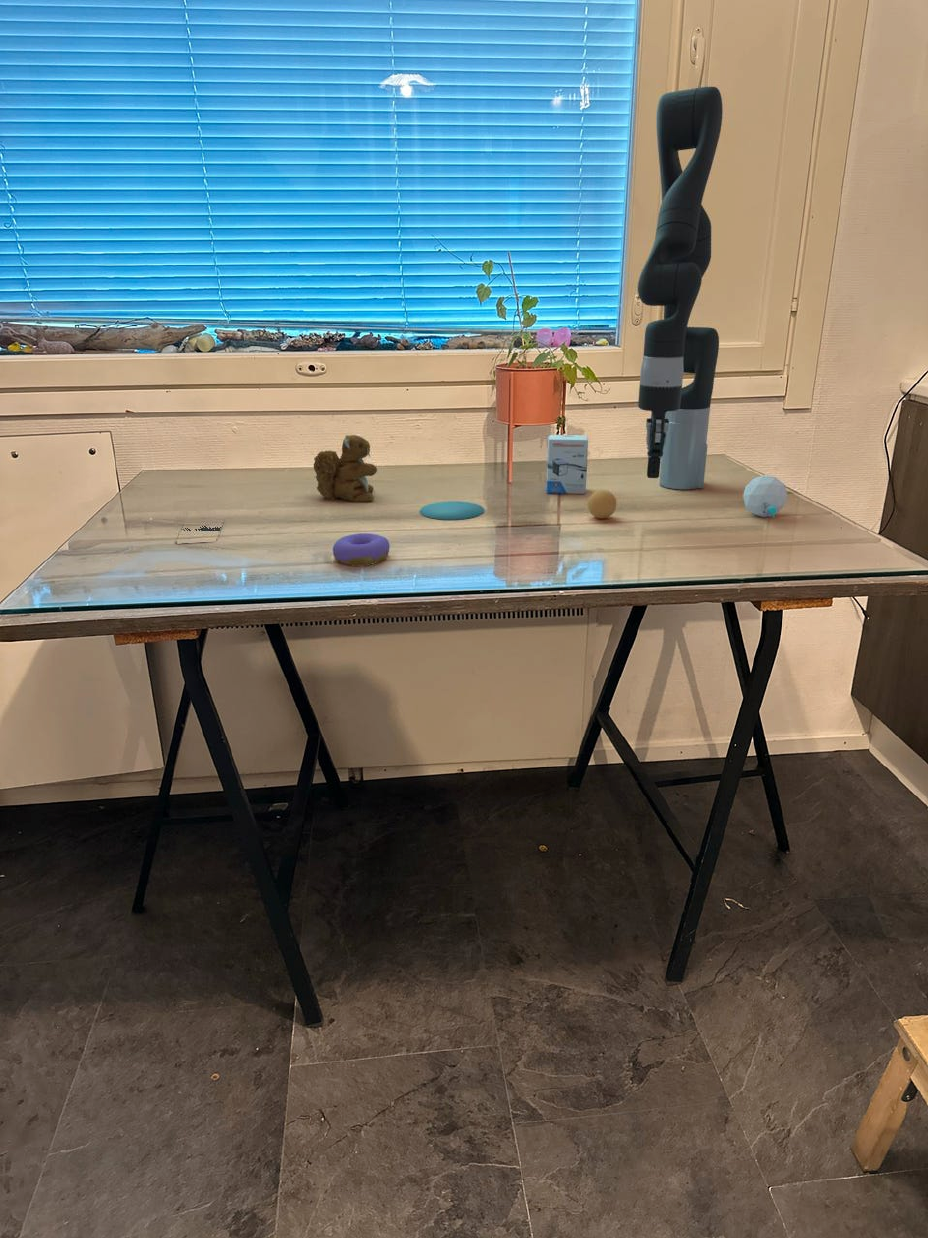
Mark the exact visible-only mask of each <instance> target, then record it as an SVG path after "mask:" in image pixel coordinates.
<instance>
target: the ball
mask: <svg viewBox="0 0 928 1238" xmlns="http://www.w3.org/2000/svg"><path fill="white" fill-rule="evenodd" d="M587 508H588V511H589V513H590V514H591V515H592V516H593V517H595V518H597V519H602V520H603V519H607V518H609V517H611V516H612V515H613V514H614V513H615V511H616V508H617V499H616V496H615V495H614V494H613V493H612V492H610V491H609V490H606V489H598V490H596V491H594V492H593V493H592V494H591V495H590V496H589V498H588V500H587Z"/></svg>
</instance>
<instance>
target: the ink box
mask: <svg viewBox="0 0 928 1238" xmlns="http://www.w3.org/2000/svg"><path fill="white" fill-rule="evenodd" d="M588 448H589V439H588V436H587V435H582V434H581V435H577V434H576V435H574V434H573V435H572V434H550V435H548V436H547V456H546V482H545V483H546V485H545V486H546V487H545V491H546V494H569V495H571V494H573V495H574V494H577V495H579V494H582V495H583V494H586V491H587V475H588V474H587V472H588V456H589V455H588V454H589V450H588Z"/></svg>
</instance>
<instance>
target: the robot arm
mask: <svg viewBox="0 0 928 1238" xmlns="http://www.w3.org/2000/svg"><path fill="white" fill-rule="evenodd" d="M723 111H724V110H723V99H722V95H721V92H720V90H719V88H718V87H716V86H701V87H695V88H691V89H684V90H677V91H670V92H666V93H664V94H661V96H660V98H659V99H658V103H657V108H656V118H655V119H656V122H655V123H656V138H657V152H658V163H659V172H660V185H661V186H660V187H661V188H660V189H661V205H660V206H659V211H658V212H659V213H658V216H657V217H658V218H657V224H656V230H655V238H654V242H653V244H652V248H651V250H650V252H649V255H648V258H647V259H646V261H645V263H644V265H643V268H642V270H641V272H640V275H639V279H638V282H637V294H638V298H639V300H640V301H641V302H642V304H644V305H646V306H649V307H659V306H660V307H663V318H662V319H659V320H655V321H651V322H649V323H648V324H647V325H646V326H645V331H644V346H643V356H642V361H641V367H640V375H639V376H640V378H639V388H638V389H639V391H638V402H637V407H638V408H639V409H640V410H643V411H645V412H646V411H647V412H649V411H650V412H651V414H650V417H649V418H646V421H645V427H646V439H645V441H646V447H647V453H646V455H647V469H646V476H647V478H648V479H658V478H659V485H660V486H661V487H665V488H667V489H674V490H694V489H704V482H705V474H706V462H707V457H708V456H707V453H708V443H707V442H708V432H709V431H708V430H709V424H710V423H709V422H710V421H709V420H710V411H711V403H712V396H713V390H714V384H715V376H716V369H717V362H718V358H719V357H718V355H719V349H720V336H719V332H718V331H717V329H716V328H714V327H709V326H708V327H706V326H705V327H704V326H688V324H689V320H690V317H691V314H692V311H693V308H694V306H695V302H696V300H697V297H698V295H699V293H700V290H701V286H702V280H703V277H704V275H705V274H706V271H707V269H708V268H709V266H710V264H711V260H712V223H711V219H710V217H709V215H708V213H707V212H706V209H705V208H704V206H703V205H702V202H703V199H704V195H705V190H706V186H707V184H708V180H709V177H710V173H711V169H712V166H713V163H714V158H715V156H716V152H717V148H718V145H719V140H720V136H721V130H722V123H723V114H724V113H723ZM692 149H693V150H694V149H695V150H694V153H693V155H692V157H691V159H690V161H689V162H688V163H687V165H686V166H685V168H684V170H683V168H682V164H681V161H680V155H679V151H687V150H692ZM684 374H694V377H693V381H692V382H691V383H690V384H689V383H688V384H687V385H686V386H683V379H684Z"/></svg>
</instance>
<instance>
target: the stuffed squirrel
mask: <svg viewBox="0 0 928 1238" xmlns="http://www.w3.org/2000/svg"><path fill="white" fill-rule="evenodd" d="M370 452H371V444H370V442H369V441H368V440H367V439H365V438H364V437H362V436H360V435H356V434H351V435H346V436H345V437H344V439H343V441H342V446H341V455H340V457H339V455H338V453H337V451H335V450H324V451H323V450H321V451H319V452H318V453H317V455H316V456H315V457H314V463H313V470H314V472H315V474H316V476H315V479H316V481H317V487H316V490H317V492H319V493H320V495H321V496H322V497H324V498H326V499H327V500H333V499H332V498H335V499H342V500H343V501H347V500H348V501H349V502H352V501H353V502H354V501H355V503H369V502H370V501H371V502H373V501H374V499H375V496H374V494H373V491H374V486H373V485H371V484H369V482H368V479H367V477H369V476H370V477H372V476H374V475H376V473H378V472H377V471H378V468H377V466H375V464H373V463H367V462H365V461H364V460H363V459H365V458H367V457H369V458H371V455H370ZM371 491H372V493H371ZM348 501H347V502H348ZM353 502H352V503H353Z"/></svg>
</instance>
